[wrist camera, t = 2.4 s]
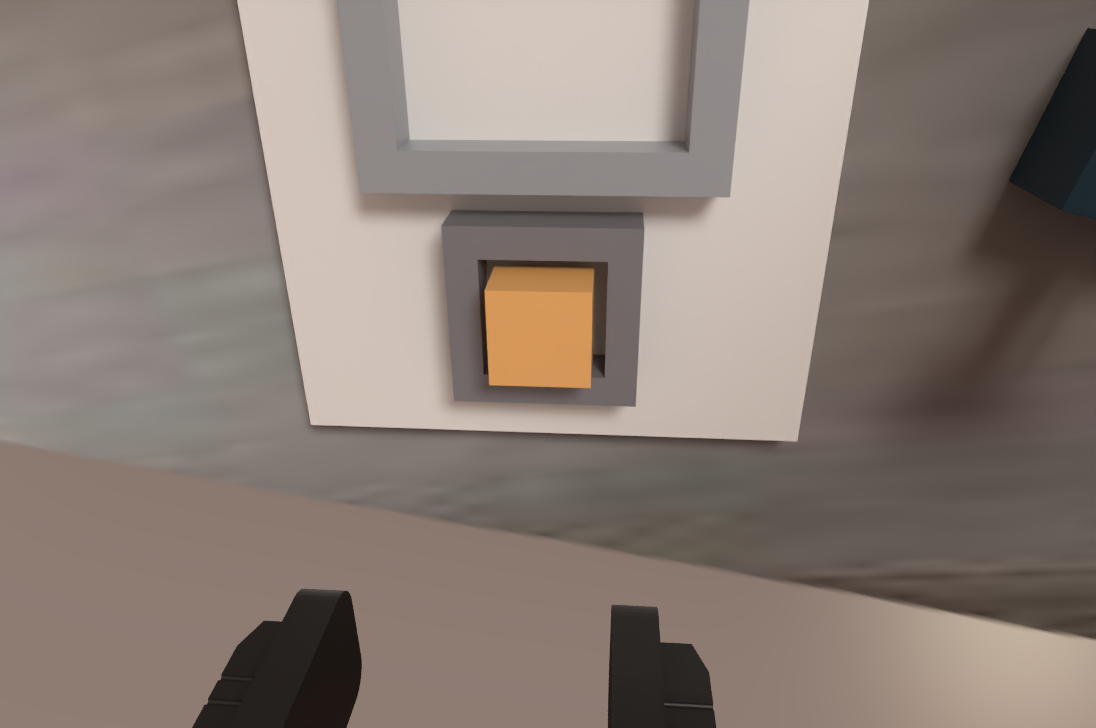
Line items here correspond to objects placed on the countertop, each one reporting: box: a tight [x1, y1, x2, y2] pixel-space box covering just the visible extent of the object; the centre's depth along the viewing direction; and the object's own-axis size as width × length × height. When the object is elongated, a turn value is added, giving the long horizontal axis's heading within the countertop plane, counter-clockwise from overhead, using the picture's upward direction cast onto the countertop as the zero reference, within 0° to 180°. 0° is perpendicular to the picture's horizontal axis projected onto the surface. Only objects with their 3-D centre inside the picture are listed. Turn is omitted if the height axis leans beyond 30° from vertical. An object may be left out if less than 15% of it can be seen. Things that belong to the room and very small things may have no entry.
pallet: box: [237, 0, 869, 441], centre depth 22 cm, size 24×17×3 cm
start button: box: [485, 266, 594, 388], centre depth 23 cm, size 3×3×2 cm
